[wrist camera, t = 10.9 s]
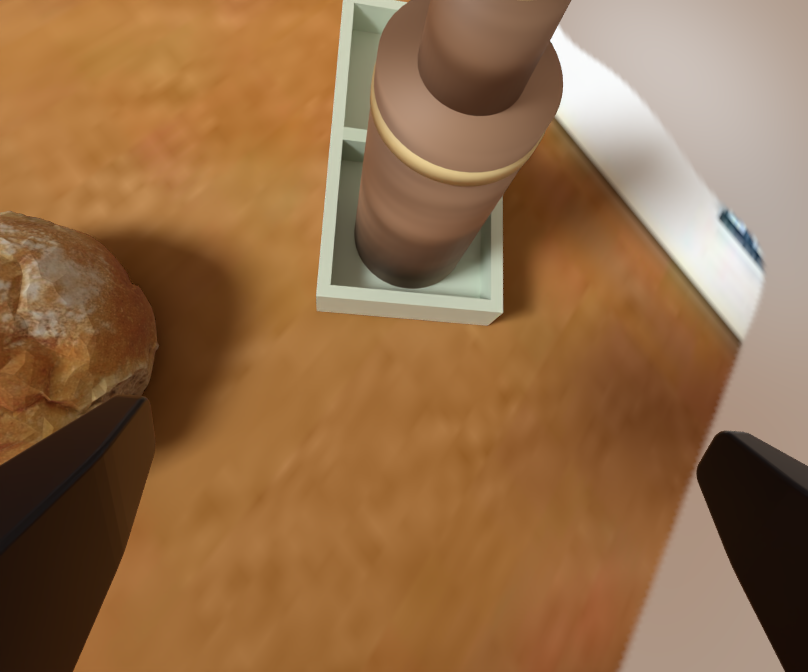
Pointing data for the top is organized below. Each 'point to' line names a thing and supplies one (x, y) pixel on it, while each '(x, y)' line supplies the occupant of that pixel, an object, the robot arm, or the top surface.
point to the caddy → (339, 260)
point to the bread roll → (64, 330)
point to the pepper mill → (451, 127)
